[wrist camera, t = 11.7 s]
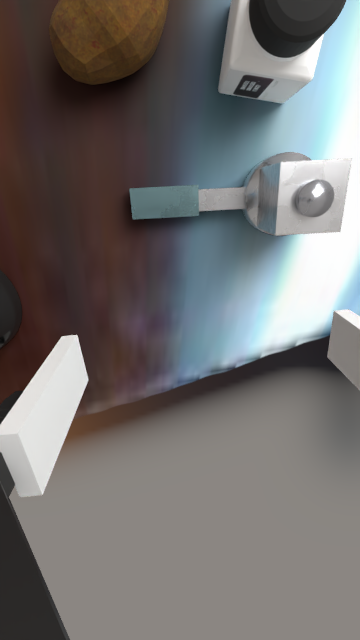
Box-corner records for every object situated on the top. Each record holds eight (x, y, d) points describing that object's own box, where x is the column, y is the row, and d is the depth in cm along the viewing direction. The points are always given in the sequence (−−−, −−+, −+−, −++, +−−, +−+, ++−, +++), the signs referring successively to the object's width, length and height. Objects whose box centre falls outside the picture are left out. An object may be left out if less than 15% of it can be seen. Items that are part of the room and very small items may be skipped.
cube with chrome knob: (256, 227, 36) (278, 236, 28) (259, 168, 33) (284, 161, 26) (309, 224, 36) (345, 233, 28) (316, 165, 33) (358, 157, 26)
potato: (46, 44, 31) (9, 0, 24) (138, -53, 28) (126, -135, 21) (99, 118, 34) (79, 98, 27) (187, 36, 31) (191, -11, 24)
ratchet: (137, 240, 39) (129, 250, 32) (129, 163, 36) (118, 156, 29) (307, 230, 39) (336, 239, 32) (317, 153, 36) (351, 143, 29)
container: (284, 105, 34) (344, 56, 22) (217, 93, 33) (240, 38, 21) (304, 15, 31) (386, -98, 19) (230, 1, 30) (267, -124, 18)
